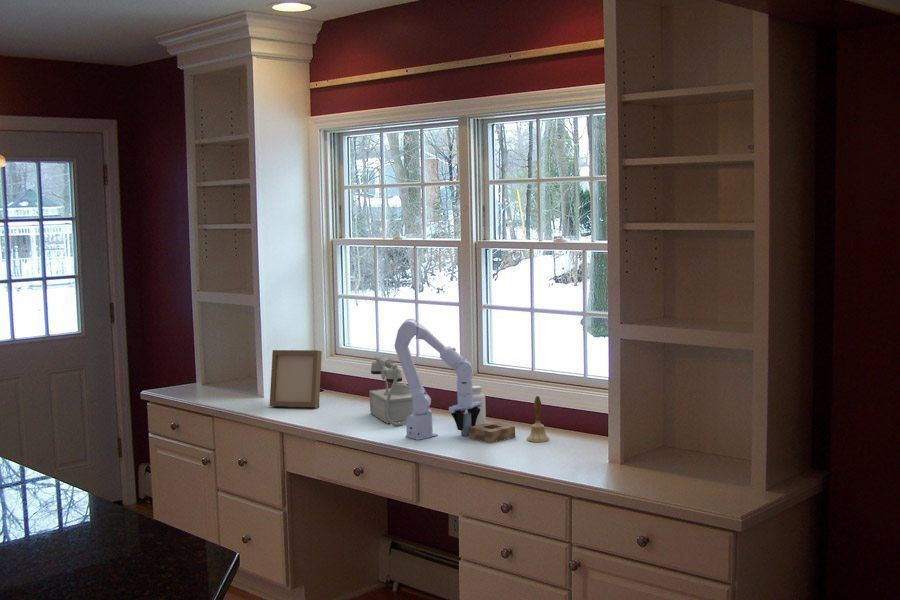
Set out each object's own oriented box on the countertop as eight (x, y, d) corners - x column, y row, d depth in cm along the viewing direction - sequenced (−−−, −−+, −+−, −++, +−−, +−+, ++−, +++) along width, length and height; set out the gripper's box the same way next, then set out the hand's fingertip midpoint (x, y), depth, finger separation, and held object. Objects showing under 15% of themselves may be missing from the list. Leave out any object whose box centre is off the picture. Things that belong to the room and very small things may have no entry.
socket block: (490, 443, 353) (490, 432, 352) (469, 437, 362) (468, 427, 361) (515, 437, 360) (514, 426, 360) (493, 432, 369) (493, 421, 369)
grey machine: (435, 422, 389) (432, 360, 387) (386, 428, 382) (383, 365, 380) (409, 408, 419) (406, 350, 417) (363, 413, 412) (360, 354, 410)
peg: (465, 436, 363) (465, 415, 363) (458, 435, 367) (458, 414, 366) (474, 435, 366) (473, 413, 365) (467, 433, 369) (466, 412, 368)
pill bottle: (489, 425, 381) (488, 387, 380) (470, 427, 378) (469, 389, 377) (481, 421, 389) (479, 384, 387) (462, 423, 386) (461, 386, 384)
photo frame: (314, 409, 424) (312, 352, 422) (269, 408, 431) (266, 351, 429) (328, 402, 438) (326, 347, 436) (284, 401, 445) (282, 347, 443)
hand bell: (551, 437, 358) (550, 394, 356) (547, 442, 350) (546, 398, 348) (529, 436, 360) (527, 394, 358) (524, 442, 352) (523, 398, 351)
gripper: (456, 397, 357) (458, 433, 358) (486, 391, 366) (487, 427, 367) (444, 394, 363) (446, 430, 364) (474, 389, 372) (475, 424, 373)
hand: (466, 428), depth 366 cm, fingers open, 5 cm apart
